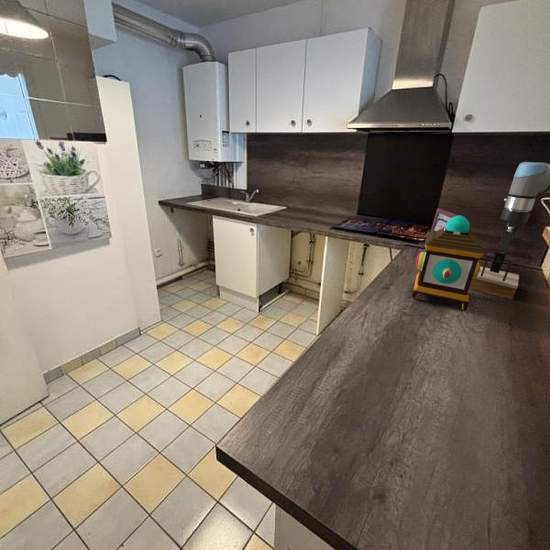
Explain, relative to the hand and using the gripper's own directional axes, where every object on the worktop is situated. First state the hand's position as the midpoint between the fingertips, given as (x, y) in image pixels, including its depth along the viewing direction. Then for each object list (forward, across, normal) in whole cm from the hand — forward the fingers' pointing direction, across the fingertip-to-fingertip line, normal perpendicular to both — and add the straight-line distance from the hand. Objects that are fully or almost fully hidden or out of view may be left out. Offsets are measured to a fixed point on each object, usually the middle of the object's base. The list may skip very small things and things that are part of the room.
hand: (495, 267), depth 109 cm
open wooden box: (+10, -5, 0) cm, 12 cm away
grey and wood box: (+6, -5, 0) cm, 7 cm away
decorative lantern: (+11, +17, -14) cm, 24 cm away
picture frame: (+11, -22, -21) cm, 32 cm away
